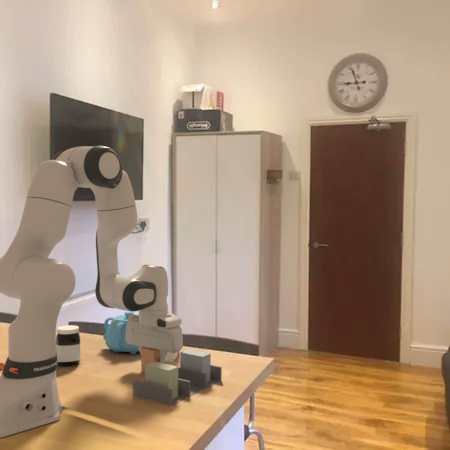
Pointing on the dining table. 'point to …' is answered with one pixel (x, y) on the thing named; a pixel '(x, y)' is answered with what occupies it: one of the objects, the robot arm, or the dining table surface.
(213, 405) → the dining table surface
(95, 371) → the dining table surface
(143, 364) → the terracotta plug
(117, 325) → the decorative pot
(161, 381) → the sage block
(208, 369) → the blue-grey block
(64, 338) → the spread jar
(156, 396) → the slot rack
